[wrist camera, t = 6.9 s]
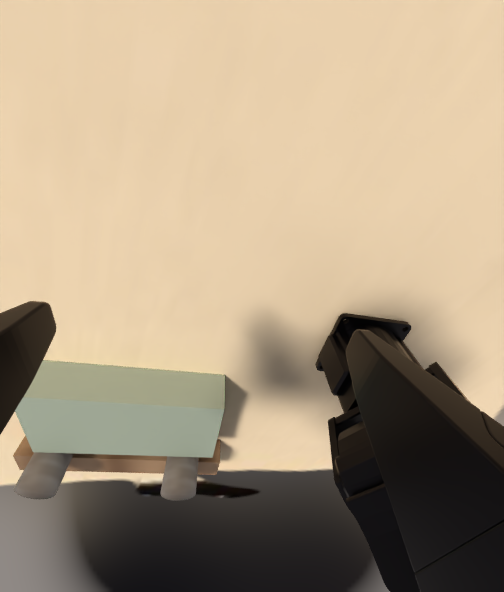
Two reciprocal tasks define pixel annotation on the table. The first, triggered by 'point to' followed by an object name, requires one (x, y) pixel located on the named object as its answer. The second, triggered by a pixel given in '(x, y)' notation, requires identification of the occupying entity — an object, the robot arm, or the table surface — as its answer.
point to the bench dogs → (109, 470)
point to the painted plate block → (122, 410)
